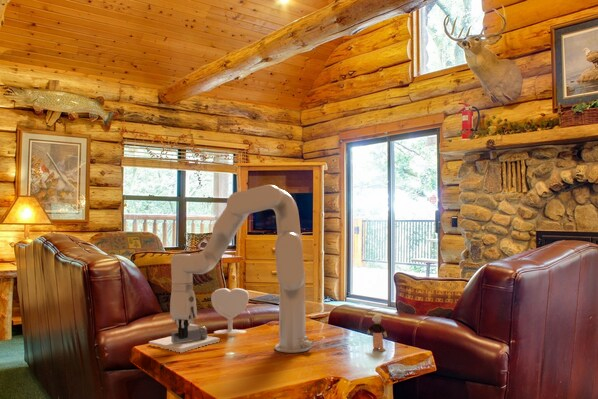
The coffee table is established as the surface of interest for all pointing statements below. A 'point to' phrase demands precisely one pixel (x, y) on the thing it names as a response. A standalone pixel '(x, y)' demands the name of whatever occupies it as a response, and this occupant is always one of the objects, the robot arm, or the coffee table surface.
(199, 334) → the lock bar
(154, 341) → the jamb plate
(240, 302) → the heart sculpture
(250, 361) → the coffee table surface
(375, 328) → the grandmother figurine
